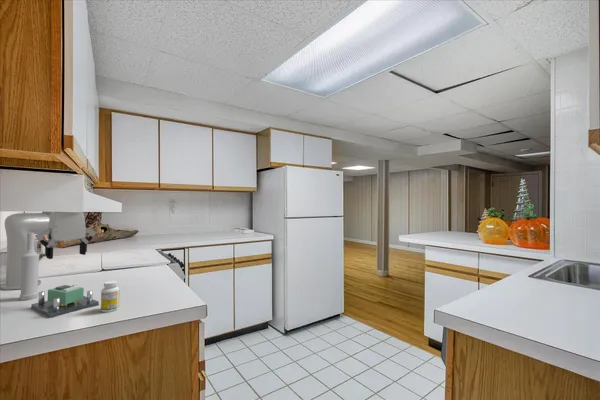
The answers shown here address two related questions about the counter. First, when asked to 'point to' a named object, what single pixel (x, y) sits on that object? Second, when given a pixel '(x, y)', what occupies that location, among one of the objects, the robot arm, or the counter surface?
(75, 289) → the green rectangular module
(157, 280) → the counter surface
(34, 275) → the bottle
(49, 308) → the chassis
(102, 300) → the supplement bottle
